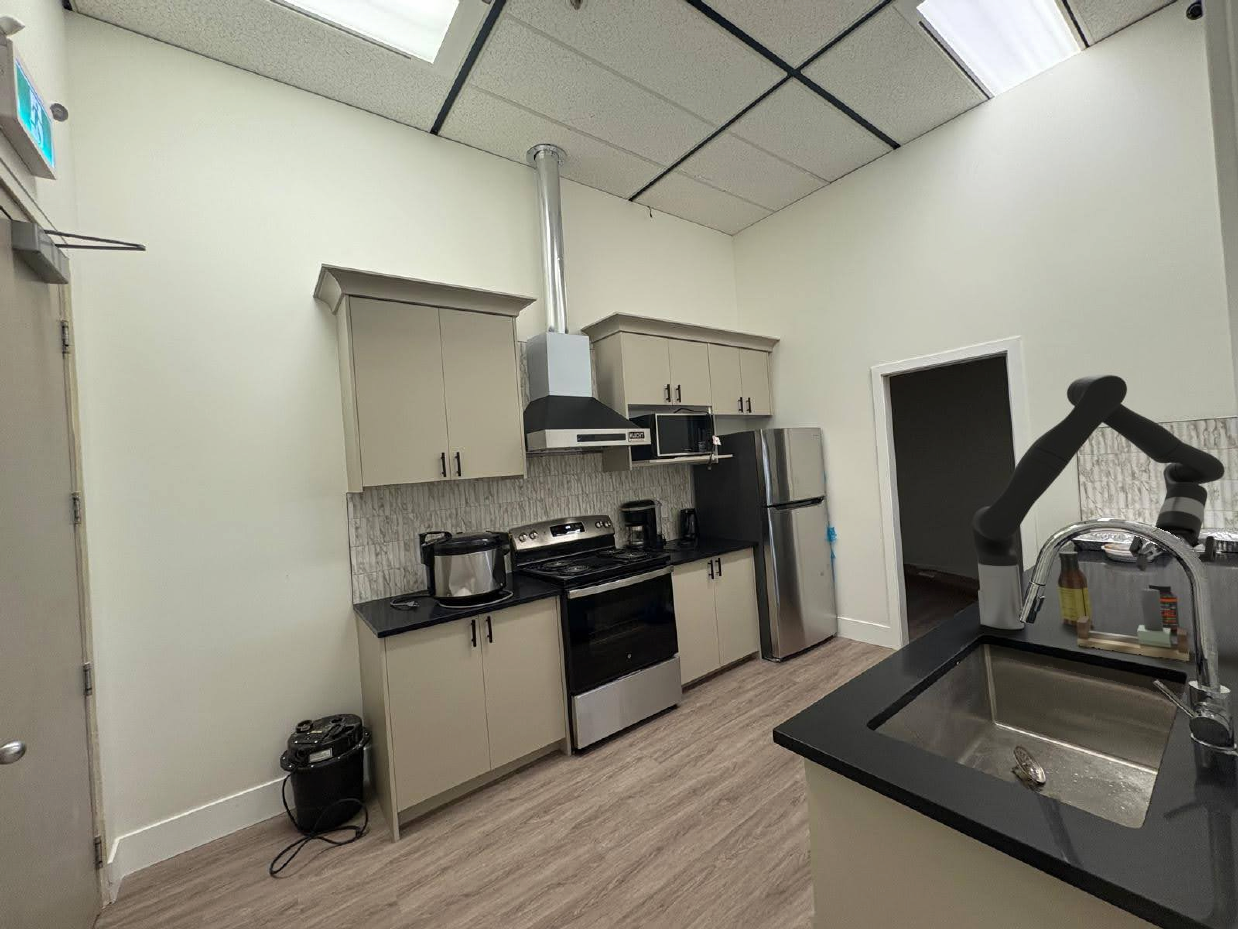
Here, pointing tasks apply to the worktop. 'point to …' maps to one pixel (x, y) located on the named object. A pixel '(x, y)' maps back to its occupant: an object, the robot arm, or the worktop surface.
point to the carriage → (1153, 621)
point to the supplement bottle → (1167, 605)
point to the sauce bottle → (1073, 589)
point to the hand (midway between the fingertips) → (1165, 571)
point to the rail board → (1131, 642)
